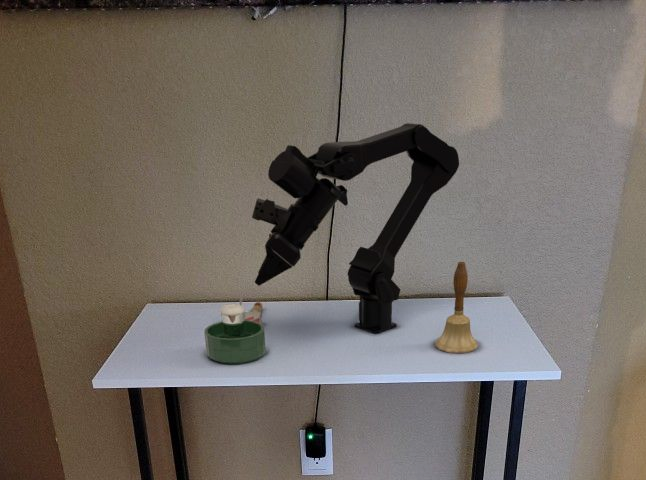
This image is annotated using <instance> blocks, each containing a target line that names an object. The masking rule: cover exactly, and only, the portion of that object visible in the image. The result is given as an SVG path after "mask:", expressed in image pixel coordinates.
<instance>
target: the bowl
mask: <svg viewBox="0 0 646 480" xmlns="http://www.w3.org/2000/svg"><path fill="white" fill-rule="evenodd" d="M262 324H263V323H262ZM262 324H260V323H258V322H255V321H249V320H245V323H244V337H243V338H233V339H227V338H225V334H224V328H223V323H222V321H218V322H214V323H212V324H210V325H208V326H207V327H206V328H205V329H204V341H205V351H206V355H207V357H208V358H210V359H211V360H213V361H215V362H217V363H221V364H226V365H227V364H228V365H238V364H239V365H240V364H247V363H250V362H253V361H256V360H258V359H259V358H260V357H262V356H264V354H265V353H266V352H267V350H266V336H265V335H266V334H265V333H266V332H265V326H264V325H262Z"/></svg>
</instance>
